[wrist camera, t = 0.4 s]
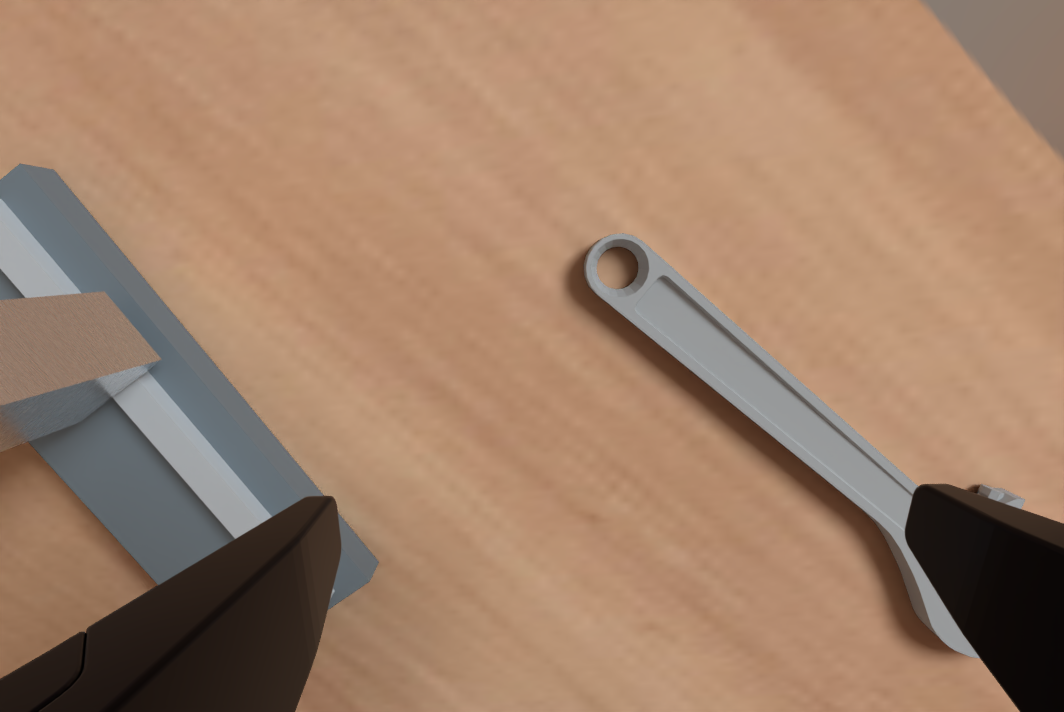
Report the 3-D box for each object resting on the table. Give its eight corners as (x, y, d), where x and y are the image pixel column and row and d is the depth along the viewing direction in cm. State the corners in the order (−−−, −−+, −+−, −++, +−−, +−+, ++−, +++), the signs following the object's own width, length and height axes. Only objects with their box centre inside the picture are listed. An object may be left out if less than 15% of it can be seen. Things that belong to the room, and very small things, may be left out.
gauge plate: (378, 561, 25) (358, 604, 22) (254, 648, 26) (217, 701, 23) (53, 169, 22) (-22, 155, 19) (-79, 277, 23) (-172, 281, 20)
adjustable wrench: (565, 272, 24) (568, 273, 22) (679, 153, 23) (692, 144, 21) (955, 655, 27) (986, 683, 25) (1067, 561, 26) (1107, 583, 24)
